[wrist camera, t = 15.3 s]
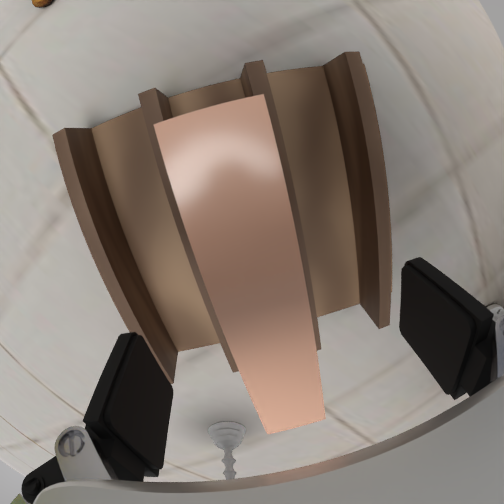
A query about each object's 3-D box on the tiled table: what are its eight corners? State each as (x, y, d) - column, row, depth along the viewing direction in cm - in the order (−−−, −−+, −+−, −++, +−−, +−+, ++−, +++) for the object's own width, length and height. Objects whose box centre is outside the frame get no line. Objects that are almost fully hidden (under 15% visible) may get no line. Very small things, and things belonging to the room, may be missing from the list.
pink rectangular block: (238, 122, 18) (263, 93, 7) (281, 298, 23) (325, 418, 12) (194, 134, 18) (153, 124, 7) (246, 308, 23) (267, 434, 12)
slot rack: (355, 67, 18) (391, 52, 13) (384, 284, 26) (413, 314, 21) (64, 146, 18) (25, 151, 13) (147, 347, 26) (136, 388, 21)
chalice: (190, 423, 31) (190, 550, 14) (239, 411, 31) (256, 547, 14) (216, 446, 34) (223, 555, 17) (260, 436, 34) (279, 549, 17)
